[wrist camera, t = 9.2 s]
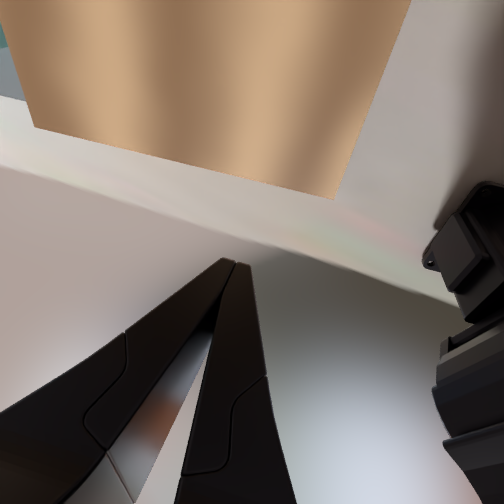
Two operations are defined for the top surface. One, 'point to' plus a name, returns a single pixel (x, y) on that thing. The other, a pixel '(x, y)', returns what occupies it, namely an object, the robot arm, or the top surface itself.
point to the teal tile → (2, 38)
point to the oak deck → (209, 79)
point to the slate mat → (9, 77)
